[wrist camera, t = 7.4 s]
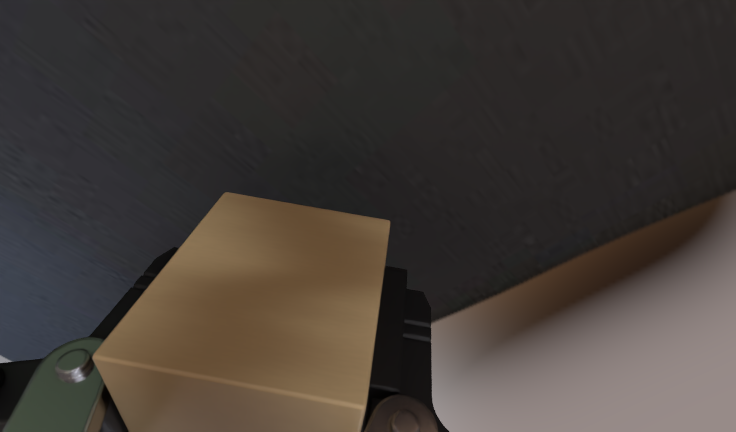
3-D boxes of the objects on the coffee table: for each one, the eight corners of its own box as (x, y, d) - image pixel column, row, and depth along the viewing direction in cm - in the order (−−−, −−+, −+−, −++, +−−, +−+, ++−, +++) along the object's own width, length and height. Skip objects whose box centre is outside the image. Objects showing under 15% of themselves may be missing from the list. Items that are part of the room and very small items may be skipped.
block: (391, 219, 10) (366, 409, 6) (369, 327, 13) (342, 511, 8) (224, 190, 10) (88, 356, 6) (237, 303, 13) (147, 473, 9)
